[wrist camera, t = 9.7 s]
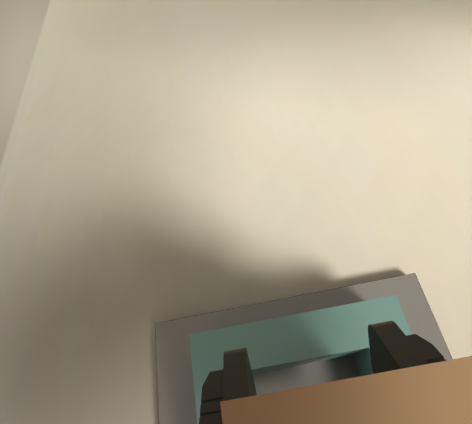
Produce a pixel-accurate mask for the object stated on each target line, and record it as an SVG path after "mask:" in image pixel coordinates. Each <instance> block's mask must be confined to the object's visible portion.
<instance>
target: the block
mask: <svg viewBox="0 0 472 424" xmlns="http://www.w3.org/2000/svg"><path fill="white" fill-rule="evenodd" d="M220 405H221V414H222V422H223V424H472V356H470V357H464V358H459V359H453V360H448V361H442V362H436V363H431V364H425V365H420V366H414V367H409V368H403V369H398V370H392V371H387V372H381V373H376V374H370V375H365V376H359V377H354V378H348V379H343V380H337V381H332V382H326V383H321V384H315V385H310V386H304V387H299V388H293V389H288V390H282V391H277V392H271V393H266V394H260V395H255V396H249V397H244V398H238V399H233V400H227V401H222V402H220Z"/></svg>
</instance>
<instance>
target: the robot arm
mask: <svg viewBox="0 0 472 424" xmlns="http://www.w3.org/2000/svg"><path fill="white" fill-rule="evenodd" d="M368 338H369V347H370V357H371V365H372V370H373V373H374V374H376V373H381V372H387V371H392V370H398V369H403V368H409V367H414V366H420V365H425V364H431V363H436V362H442V361H447V360H445V359H444V356H443V355H442V354H441V353H440V352H439V351H438V350H437V349H436V348H435V346H434V345H433V344H432V343H430V342H428V341H427V340H425V339H423V338H422V337H420V336H418V335H416V334H412V335H407V336H406V335H405V334H404V333H403V331H402V330H401V329H400V328H399V327H398V325H397V324H396V323H395V322H394V321H392V320H391V321H386V322H380V323H375V324H370V325H368ZM255 395H257V393H256V388H255V383H254V379H253V374H252V370H251V366H250V361H249V357H248V353H247V349H246V348H240V349H235V350H230V351H224V355H223V369H222V370H217V371H212V372H210V373H209V374H208V376H207V378H206V380H205V382H204V384H203V386H202V395H201V406H200V417H199V424H223V422H222V414H221V405H220V402H222V401H227V400H233V399H238V398H244V397H249V396H255Z"/></svg>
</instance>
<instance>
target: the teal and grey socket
mask: <svg viewBox="0 0 472 424" xmlns="http://www.w3.org/2000/svg"><path fill="white" fill-rule="evenodd" d="M391 320H392V321H394V322H395V323H396V324H397V325H398V327H399V328H400V329H401V330H402V331H403V333H404V334H405V335H406V336H407V335H412V334H416V335H418V336H420V337H422V338H423V339H425V340H427V341H428V342H430V343H432V344H433V345H434V346H435V348H436V349H437V350H438V351H439V352H440V353H441V354H442V355H443V356H444V359H445V360H447V361H448V360H453V359H452V356H451V354H450V352H449V350H448V347H447V345H446V343H445V340H444V338H443V336H442V334H441V331H440V329H439V327H438V324H437V322H436V320H435V318H434V315H433V313H432V311H431V308H430V306H429V304H428V302H427V299H426V297H425V295H424V292H423V290H422V288H421V286H420V283H419V281H418V279H417V276H416V274H415V273H413V274H408V275H403V276H397V277H392V278H387V279H382V280H377V281H372V282H367V283H361V284H356V285H351V286H346V287H341V288H336V289H330V290H325V291H320V292H315V293H310V294H305V295H300V296H294V297H289V298H284V299H279V300H274V301H269V302H264V303H258V304H253V305H248V306H243V307H238V308H233V309H227V310H222V311H217V312H212V313H207V314H202V315H197V316H191V317H186V318H181V319H176V320H171V321H166V322H160V323H155V333H156V356H157V380H158V403H159V424H199V417H200V406H201V395H202V386H203V384H204V382H205V380H206V378H207V376H208V374H209V373H210V372H212V371H217V370H222V369H223V355H224V351H230V350H235V349H240V348H246V349H247V353H248V357H249V361H250V366H251V370H252V374H253V379H254V383H255V388H256V393H257V395H260V394H266V393H271V392H277V391H282V390H288V389H293V388H299V387H304V386H310V385H315V384H321V383H326V382H332V381H337V380H343V379H348V378H354V377H359V376H365V375H370V374H374V373H373V370H372V365H371V357H370V347H369V338H368V325H370V324H375V323H380V322H386V321H391Z"/></svg>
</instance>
